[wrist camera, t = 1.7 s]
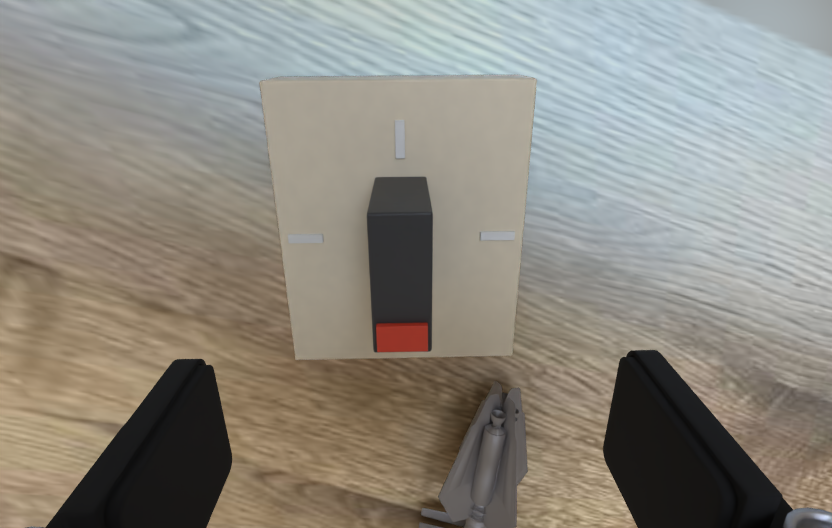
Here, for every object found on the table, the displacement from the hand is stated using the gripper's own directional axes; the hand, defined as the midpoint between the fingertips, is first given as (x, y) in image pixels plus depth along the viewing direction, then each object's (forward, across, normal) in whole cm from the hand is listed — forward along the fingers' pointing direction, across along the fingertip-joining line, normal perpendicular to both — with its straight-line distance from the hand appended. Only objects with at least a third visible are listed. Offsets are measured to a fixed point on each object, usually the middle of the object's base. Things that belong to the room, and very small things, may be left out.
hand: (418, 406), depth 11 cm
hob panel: (+13, 0, -1) cm, 13 cm away
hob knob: (+10, 0, -1) cm, 10 cm away
